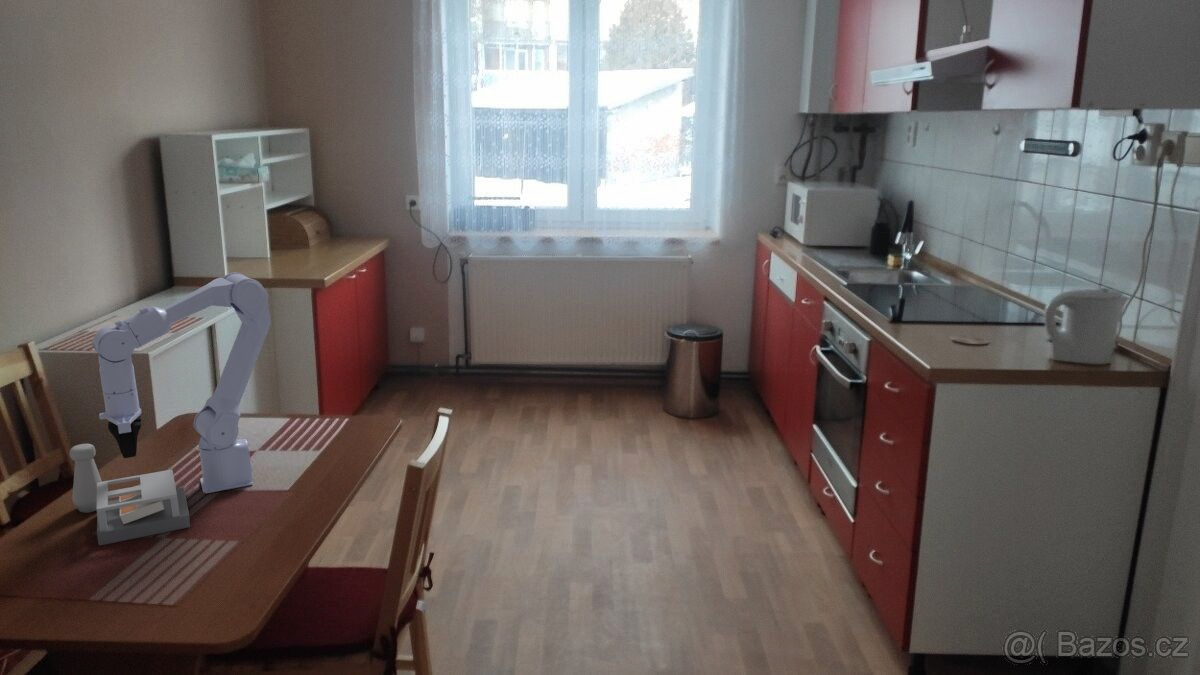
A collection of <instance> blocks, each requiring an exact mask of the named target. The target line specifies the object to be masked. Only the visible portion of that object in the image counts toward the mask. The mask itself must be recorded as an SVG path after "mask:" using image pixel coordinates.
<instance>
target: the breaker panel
mask: <svg viewBox="0 0 1200 675" xmlns="http://www.w3.org/2000/svg"><path fill="white" fill-rule="evenodd" d="M173 471H174V470H173V469H166V470H160V471H156V472H149V473H144V474H137V475H134V476H133V475H132V476H126V477H121V478H116V479H110V480H103V481H102V482H97V511H96V513H97V516H96V518H97V519H96V536H97V542H98V546H104V545H109V544H115V543H119V542H124V541H127V540H133V539H138V538H143V537H149V536H153V535H159V534H163V533H167V532H173V531H178V530H182V529H188V528H191V523H190V522H191V521H190V513H189V508H188V503H187V498H186V494H185V489H184V487H178V488H176V481H175V476H174V472H173ZM135 481H140V482H139V483H140V484H141V486H137V485H134V486H135V487H134V486H131V487H125V488H119V489H114V490H109V486H112V485H118V484H123V483H129V482H135ZM135 493H141V494H142V499H138V500H133V501H127V502H122V503H120V502H119V496H124V495H130V494H135ZM112 498H118V499H114V500H109V499H112ZM160 500H163V504H164V509H163V510H161V511H158V512H155V513H153V514H150V515H147V516H145V517H142V518H140V519H137V520H134V521H132V522H129V523H126V524H123V522H122V520H121V517H120V508H123V507H128V506H133V505H138V504H144V503H149V502H154V501H160Z"/></svg>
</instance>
